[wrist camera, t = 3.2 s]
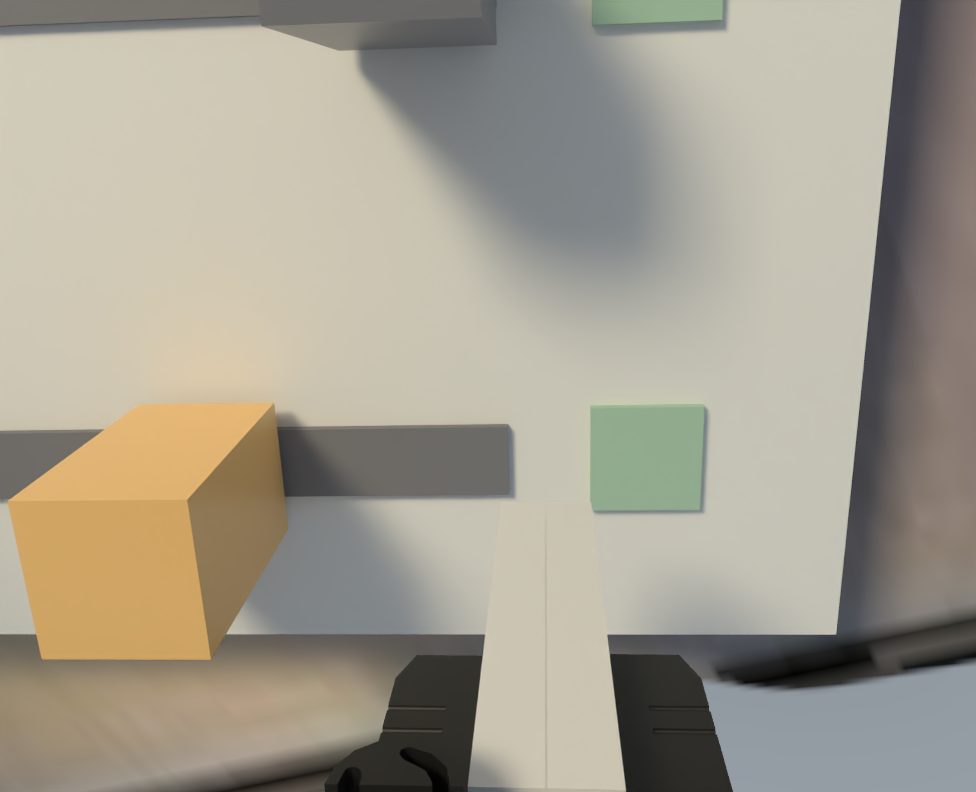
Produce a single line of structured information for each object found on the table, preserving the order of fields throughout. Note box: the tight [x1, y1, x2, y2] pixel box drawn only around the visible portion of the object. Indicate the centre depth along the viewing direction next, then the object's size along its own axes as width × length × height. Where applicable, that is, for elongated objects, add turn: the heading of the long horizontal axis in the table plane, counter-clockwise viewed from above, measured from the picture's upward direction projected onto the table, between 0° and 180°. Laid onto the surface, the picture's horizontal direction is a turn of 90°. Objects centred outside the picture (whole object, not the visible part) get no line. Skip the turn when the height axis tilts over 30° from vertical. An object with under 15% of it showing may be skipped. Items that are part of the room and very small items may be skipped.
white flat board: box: [0, 0, 901, 635], centre depth 20 cm, size 28×19×3 cm
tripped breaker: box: [7, 403, 288, 660], centre depth 17 cm, size 3×3×5 cm
